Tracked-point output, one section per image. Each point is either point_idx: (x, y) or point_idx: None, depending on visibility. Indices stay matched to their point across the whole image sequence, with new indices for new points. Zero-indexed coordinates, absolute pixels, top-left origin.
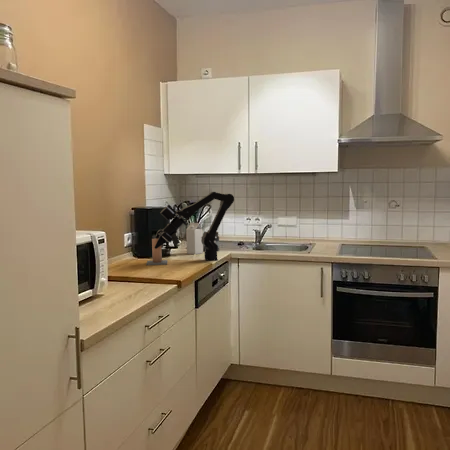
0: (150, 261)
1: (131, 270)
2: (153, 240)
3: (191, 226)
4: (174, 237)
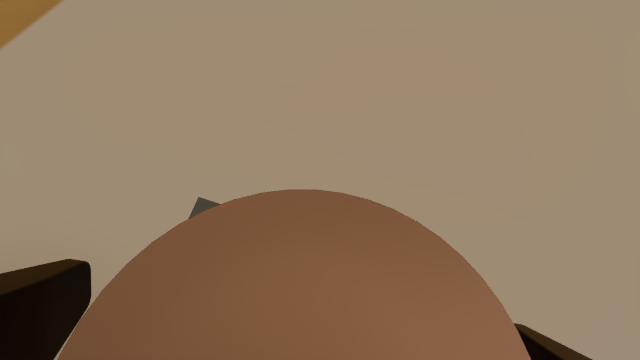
0: None
1: (3, 11)
2: (199, 228)
3: None
4: None
